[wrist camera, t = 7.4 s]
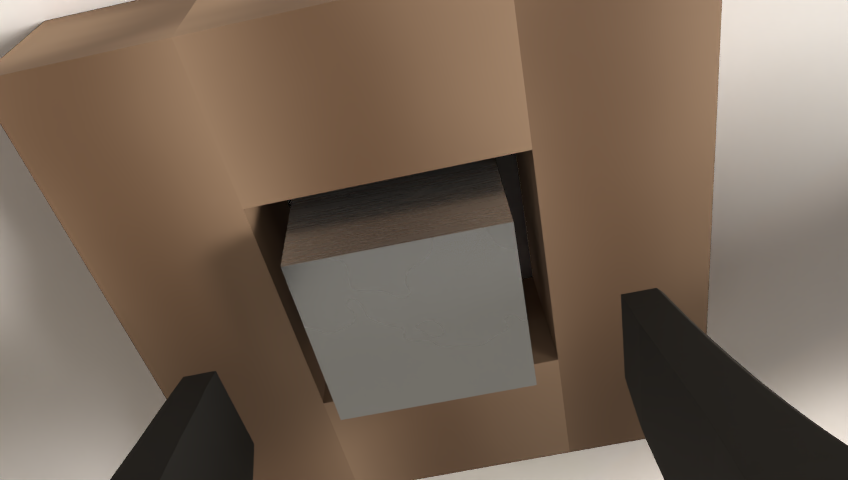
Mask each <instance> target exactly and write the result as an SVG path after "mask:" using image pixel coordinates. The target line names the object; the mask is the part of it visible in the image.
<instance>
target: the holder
mask: <svg viewBox="0 0 848 480" xmlns="http://www.w3.org/2000/svg"><path fill="white" fill-rule="evenodd" d="M721 11H722V0H136V1H131V2H127V3H122V4H118V5H113V6H109V7H105V8H100V9H96V10H91V11H87V12H83V13H78V14H74V15H69V16H65V17H60V18H56V19H52V20H47V21H44V22H43V23H42V24H41V25H39V26H38V27H37V28H36V29H35V30H34V31H33V32H31V33H30V34H29V35H28V36H27V37H26V38H24V39H23V40H22V41H21V42H20V43H19V44H17V45H16V46H15V47H14V48H13V49H12V50H10V51H9V52H8V53H7V54H6V55H5V56H3V57H2V58H1V59H0V124H1V125H2V127H3V129H4V130H5V132H6V134H7V135H8V137H9V139H10V140H11V142H12V144H13V145H14V147H15V149H16V150H17V152H18V154H19V155H20V157H21V159H22V160H23V162H24V163H25V165H26V167H27V168H28V170H29V172H30V173H31V175H32V177H33V178H34V180H35V182H36V183H37V185H38V187H39V188H40V190H41V192H42V193H43V195H44V197H45V198H46V200H47V202H48V203H49V205H50V207H51V208H52V210H53V212H54V213H55V215H56V217H57V218H58V220H59V222H60V223H61V225H62V226H63V228H64V230H65V231H66V233H67V235H68V236H69V238H70V240H71V241H72V243H73V245H74V246H75V248H76V250H77V251H78V253H79V255H80V256H81V258H82V260H83V261H84V263H85V265H86V266H87V268H88V270H89V271H90V273H91V275H92V276H93V278H94V280H95V281H96V283H97V284H98V286H99V288H100V289H101V291H102V293H103V294H104V296H105V298H106V299H107V301H108V303H109V304H110V306H111V308H112V309H113V311H114V313H115V314H116V316H117V318H118V319H119V321H120V323H121V324H122V326H123V328H124V329H125V331H126V333H127V334H128V336H129V338H130V339H131V341H132V343H133V344H134V346H135V347H136V349H137V351H138V352H139V354H140V356H141V357H142V359H143V361H144V362H145V364H146V366H147V367H148V369H149V371H150V372H151V374H152V376H153V377H154V379H155V381H156V382H157V384H158V386H159V387H160V389H161V391H162V392H163V394H164V396H165V397H166V399H168V397H169V396H170V394H171V393H172V392H173V390H174V389H175V387H176V386H177V385H178V383H179V382H180V380H181V379H182V378H183V377H185V376H191V375H196V374H201V373H206V372H212V371H216V372H217V374H218V376H219V378H220V380H221V382H222V383H223V385H224V387H225V389H226V391H227V393H228V395H229V397H230V399H231V401H232V403H233V404H234V406H235V408H236V410H237V412H238V414H239V416H240V418H241V420H242V422H243V423H244V425H245V427H246V429H247V431H248V433H249V435H250V437H251V439H252V441H253V443H254V467H253V480H416V479H422V478H427V477H433V476H438V475H444V474H450V473H455V472H461V471H466V470H472V469H478V468H483V467H489V466H494V465H500V464H506V463H511V462H517V461H522V460H528V459H534V458H539V457H545V456H551V455H556V454H562V453H567V452H573V451H579V450H584V449H590V448H595V447H601V446H607V445H612V444H618V443H623V442H629V441H635V440H640V439H646V438H645V436H644V433H643V431H642V429H641V426H640V423H639V420H638V417H637V414H636V411H635V408H634V405H633V401H632V398H631V395H630V392H629V389H628V386H627V383H626V379H625V372H624V351H623V330H622V309H621V294H626V293H631V292H637V291H642V290H647V289H653V288H658V289H659V290H661V291H662V292H664V293H665V294H666V296H667V297H668V298H669V299H670V300H671V301H672V302H673V303H674V304H675V305H676V306H677V307H678V308H679V309H680V310H681V311H682V312H683V313H684V314H685V315H686V316H687V317H688V318H690V319H691V320H692V321H693V322H694V323H695V324H696V325H697V326H698V327H699V328H700V329H701V330H702V331H703V332H704V333H705V334H706V333H707V311H708V290H709V268H710V247H711V225H712V204H713V182H714V161H715V140H716V118H717V97H718V75H719V54H720V32H721ZM514 153H516V159H517V166H518V173H519V181H520V188H521V195H522V202H523V209H524V216H525V224H526V231H527V238H528V245H529V252H530V260H531V267H532V274H533V277H531V278H526V279H522V285H523V292H524V299H525V306H526V313H527V320H528V327H529V334H530V341H531V348H532V355H533V362H534V369H535V376H536V383H537V385H534V386H528V387H522V388H517V389H511V390H506V391H500V392H495V393H489V394H483V395H478V396H472V397H467V398H461V399H456V400H450V401H444V402H439V403H433V404H428V405H422V406H417V407H411V408H405V409H400V410H394V411H389V412H383V413H378V414H372V415H366V416H361V417H355V418H350V419H344V420H341V419H340V417H339V414H338V411H337V409H336V406H335V404H334V401H333V399H332V396H331V394H330V391H329V389H328V386H327V384H326V381H325V378H324V376H323V373H322V371H321V368H320V366H319V363H318V361H317V358H316V356H315V353H314V351H313V348H312V345H311V343H310V340H309V338H308V335H307V333H306V330H305V328H304V325H303V323H302V320H301V318H300V315H299V312H298V310H297V307H296V305H295V302H294V300H293V297H292V295H291V292H290V290H289V287H288V285H287V282H286V279H285V277H284V274H283V272H282V269H281V261H282V255H283V249H284V243H285V238H286V232H287V226H288V220H289V214H290V208H289V205H288V202H287V200H290V199H295V198H300V197H304V196H309V195H314V194H319V193H324V192H329V191H334V190H339V189H343V188H348V187H353V186H358V185H363V184H368V183H373V182H377V181H382V180H387V179H392V178H397V177H402V176H407V175H412V174H416V173H421V172H426V171H431V170H436V169H441V168H446V167H451V166H455V165H460V164H465V163H470V162H475V161H480V160H485V159H489V158H494V157H499V156H504V155H509V154H514Z"/></svg>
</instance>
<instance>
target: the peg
mask: <svg viewBox="0 0 848 480" xmlns="http://www.w3.org/2000/svg"><path fill="white" fill-rule="evenodd" d="M281 269H282V272H283V274H284V277H285V279H286V282H287V285H288V287H289V290H290V292H291V295H292V297H293V300H294V302H295V305H296V307H297V310H298V312H299V315H300V318H301V320H302V323H303V325H304V328H305V330H306V333H307V335H308V338H309V340H310V343H311V345H312V348H313V351H314V353H315V356H316V358H317V361H318V363H319V366H320V368H321V371H322V373H323V376H324V378H325V381H326V384H327V386H328V389H329V391H330V394H331V396H332V399H333V401H334V404H335V406H336V409H337V411H338V414H339V417H340V419H341V420H344V419H350V418H355V417H361V416H366V415H372V414H378V413H383V412H389V411H394V410H400V409H405V408H411V407H417V406H422V405H428V404H433V403H439V402H444V401H450V400H456V399H461V398H467V397H472V396H478V395H483V394H489V393H495V392H500V391H506V390H511V389H517V388H522V387H528V386H534V385H537V383H536V376H535V369H534V362H533V355H532V348H531V341H530V334H529V327H528V320H527V313H526V306H525V299H524V292H523V285H522V278H521V271H520V264H519V257H518V250H517V243H516V236H515V229H514V222H513V218H512V215H511V212H510V208H509V205H508V202H507V198H506V195H505V192H504V188H503V185H502V181H501V178H500V175H499V171H498V168H497V165H496V161H495V158H489V159H485V160H480V161H475V162H470V163H465V164H460V165H455V166H451V167H446V168H441V169H436V170H431V171H426V172H421V173H416V174H412V175H407V176H402V177H397V178H392V179H387V180H382V181H377V182H373V183H368V184H363V185H358V186H353V187H348V188H343V189H339V190H334V191H329V192H324V193H319V194H314V195H309V196H304V197H300V198H295V199H292V202H291V208H290V214H289V220H288V226H287V232H286V238H285V243H284V249H283V255H282V261H281Z"/></svg>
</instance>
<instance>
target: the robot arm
mask: <svg viewBox="0 0 848 480" xmlns="http://www.w3.org/2000/svg"><path fill="white" fill-rule="evenodd" d="M621 309H622V330H623V351H624V372H625V379H626V383H627V386H628V389H629V392H630V395H631V398H632V401H633V405H634V408H635V411H636V414H637V417H638V420H639V423H640V426H641V429H642V431H643V433H644V436H645V438H646V440H647V442H648V445H649V447H650V449H651V451H652V453H653V456H654V458H655V460H656V462H657V464H658V467H659V469H660V471H661V473H662V475H663V477H664V480H848V445H846V444H845V443H843V442H842V441H840V440H839V439H837V438H836V437H834V436H833V435H831V434H830V433H828V432H827V431H825V430H824V429H823V428H821V427H820V426H818V425H817V424H816V423H814V422H813V421H811V420H810V419H809V418H807V417H806V416H805V415H803V414H802V413H800V412H799V411H798V410H796V409H795V408H794V407H792V406H791V405H790V404H789V403H787V402H786V401H785V400H783V399H782V398H781V397H779V396H778V395H777V394H776V393H774V392H773V391H772V390H770V389H769V388H768V387H767V386H765V385H764V384H763V383H762V382H760V381H759V380H758V379H757V378H756V377H754V376H753V375H752V374H751V373H750V372H748V371H747V370H746V369H745V368H744V367H743V366H741V365H740V364H739V363H738V362H737V361H736V360H734V359H733V358H732V357H731V356H730V355H729V354H727V353H726V352H725V351H724V350H723V349H722V348H721V347H720V346H718V345H717V344H716V343H715V342H714V341H713V340H712V339H711V338H710V337H709V336H707V335H706V334H705V333H704V332H703V331H702V330H701V329H700V328H699V327H698V326H697V325H696V324H695V323H694V322H693V321H692V320H691V319H690V318H688V317H687V316H686V315H685V314H684V313H683V312H682V311H681V310H680V309H679V308H678V307H677V306H676V305H675V304H674V303H673V302H672V301H671V300H670V299H669V298H668V297H667V296H666V294H665V293H664V292H662V291H661V290H659V289H658V288H653V289H647V290H642V291H637V292H631V293H626V294H621ZM253 467H254V443H253V441H252V439H251V437H250V435H249V433H248V431H247V429H246V427H245V425H244V423H243V422H242V420H241V418H240V416H239V414H238V412H237V410H236V408H235V406H234V404H233V403H232V401H231V399H230V397H229V395H228V393H227V391H226V389H225V387H224V385H223V383H222V382H221V380H220V378H219V376H218V374H217V372H216V371H212V372H206V373H201V374H196V375H191V376H185V377H183V378H182V379H181V380H180V382H179V383H178V385H177V386H176V387H175V389H174V390H173V392H172V393H171V394H170V396H169V397H168V399H167V400H166V402H165V403H164V404H163V406H162V407H161V409H160V410H159V412H158V413H157V414H156V416H155V417H154V419H153V420H152V422H151V423H150V425H149V426H148V427H147V429H146V430H145V432H144V433H143V435H142V436H141V437H140V439H139V440H138V442H137V443H136V445H135V446H134V447H133V449H132V450H131V451H130V453H129V454H128V456H127V457H126V458H125V460H124V461H123V463H122V464H121V465H120V467H119V468H118V470H117V471H116V472H115V474H114V475H113V476H112V478H111V479H110V480H253Z"/></svg>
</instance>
